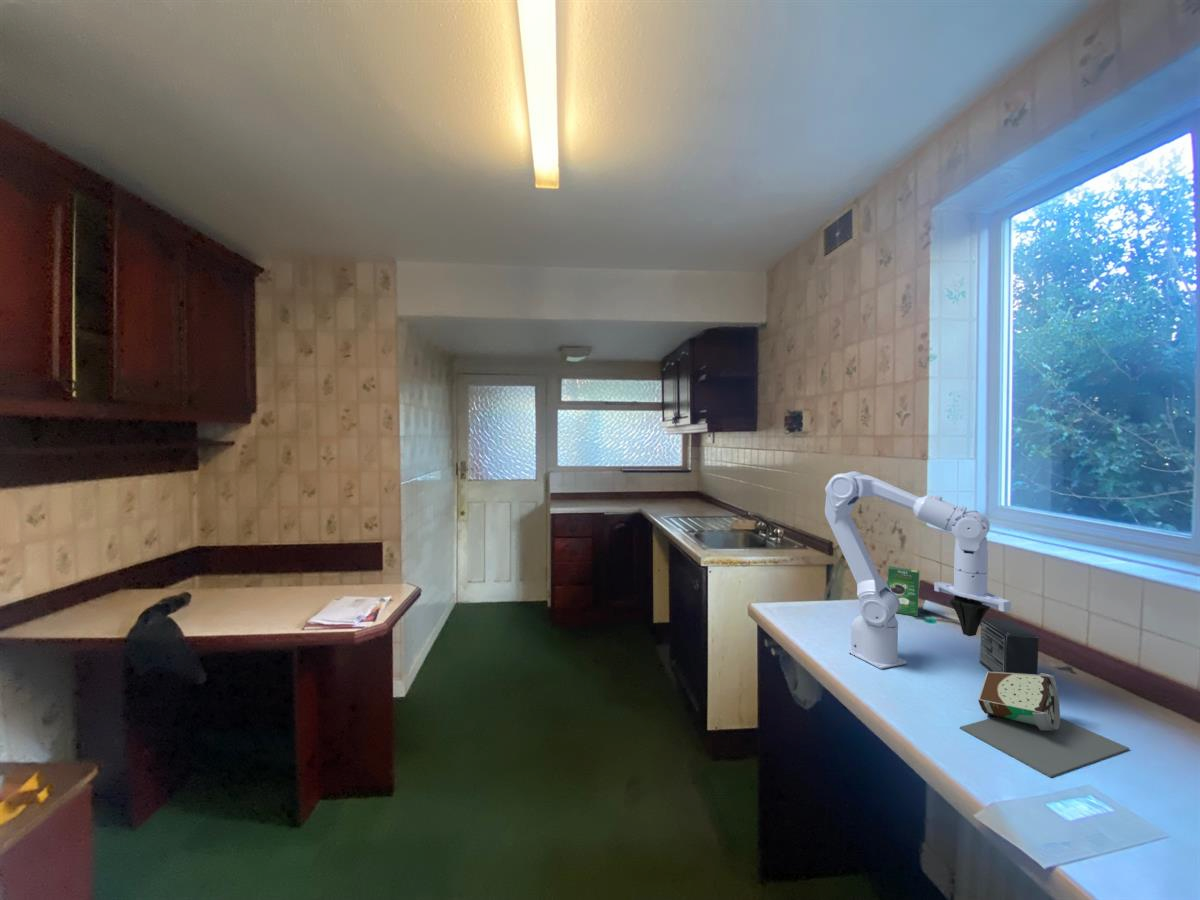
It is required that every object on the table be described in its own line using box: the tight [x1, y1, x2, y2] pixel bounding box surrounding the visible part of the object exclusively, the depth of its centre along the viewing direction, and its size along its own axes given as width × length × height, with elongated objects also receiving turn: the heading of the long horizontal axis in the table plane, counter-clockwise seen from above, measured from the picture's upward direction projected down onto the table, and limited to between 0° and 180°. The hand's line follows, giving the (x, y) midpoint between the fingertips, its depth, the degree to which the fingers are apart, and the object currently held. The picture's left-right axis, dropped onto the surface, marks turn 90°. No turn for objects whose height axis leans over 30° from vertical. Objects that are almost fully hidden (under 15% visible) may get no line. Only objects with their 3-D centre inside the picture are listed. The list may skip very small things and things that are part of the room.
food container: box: [977, 670, 1061, 731], centre depth 94 cm, size 12×6×10 cm
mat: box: [959, 716, 1130, 779], centre depth 89 cm, size 14×20×1 cm
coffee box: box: [887, 566, 920, 617], centre depth 150 cm, size 8×3×13 cm, turn 56°
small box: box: [979, 617, 1040, 675], centre depth 112 cm, size 11×6×10 cm, turn 168°
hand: (969, 634), depth 108 cm, fingers closed
